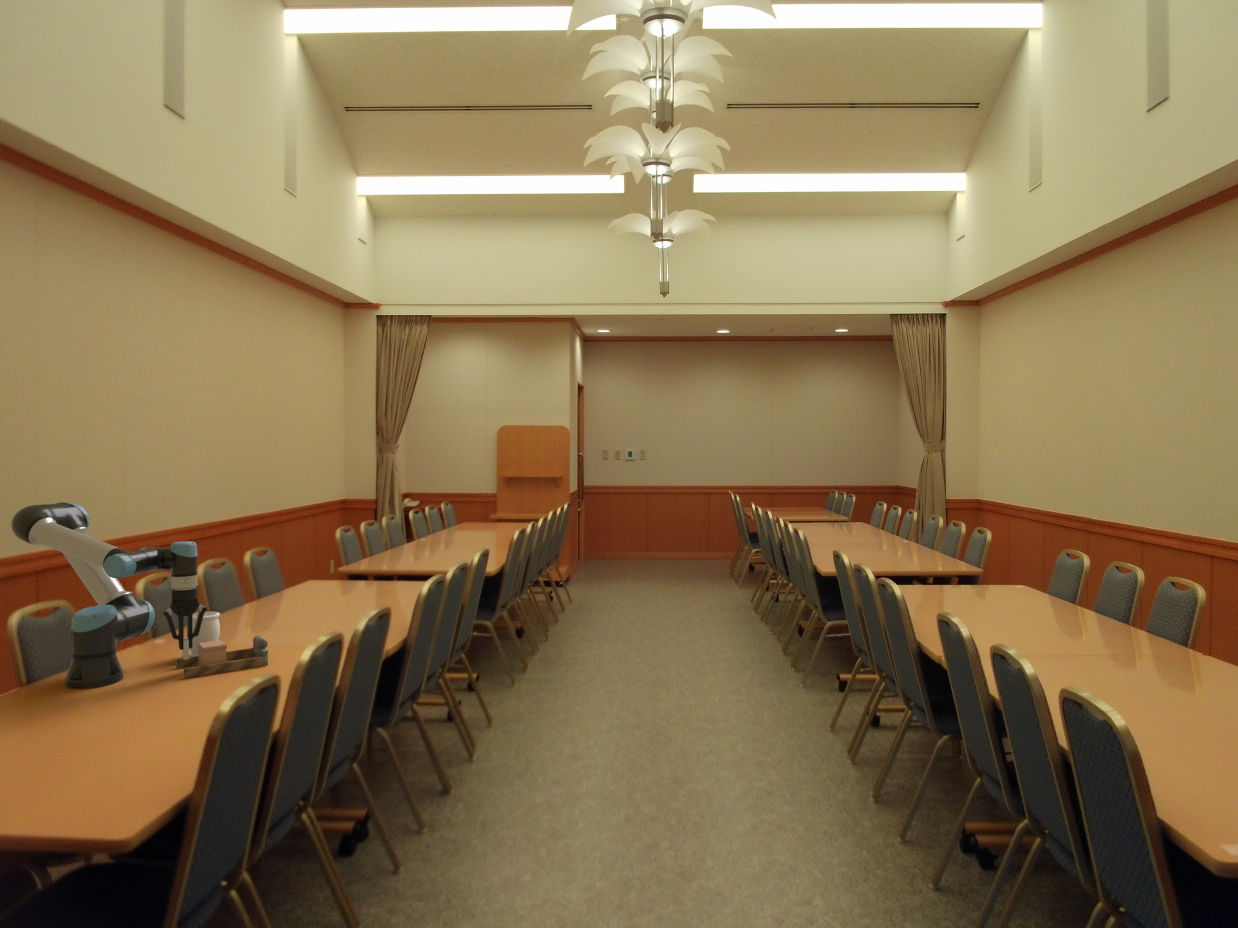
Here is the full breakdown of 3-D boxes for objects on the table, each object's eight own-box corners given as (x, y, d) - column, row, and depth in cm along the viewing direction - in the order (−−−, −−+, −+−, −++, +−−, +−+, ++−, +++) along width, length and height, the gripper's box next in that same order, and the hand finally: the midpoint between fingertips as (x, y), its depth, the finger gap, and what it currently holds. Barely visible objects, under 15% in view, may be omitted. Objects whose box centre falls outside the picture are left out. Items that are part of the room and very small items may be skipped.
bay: (184, 678, 241) (184, 654, 241) (176, 667, 253) (176, 644, 253) (270, 664, 257) (270, 641, 257) (259, 654, 269) (259, 632, 269)
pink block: (202, 671, 247) (202, 648, 247) (198, 666, 254) (198, 642, 254) (226, 668, 252) (226, 644, 251) (221, 662, 258) (221, 639, 258)
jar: (226, 652, 273) (226, 611, 272) (207, 659, 262) (207, 617, 262) (199, 651, 274) (198, 610, 273) (179, 658, 263) (179, 616, 263)
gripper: (163, 592, 240) (164, 664, 240) (208, 587, 248) (209, 657, 249) (160, 588, 246) (161, 659, 246) (204, 584, 254) (205, 652, 254)
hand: (185, 658), depth 247 cm, fingers closed
